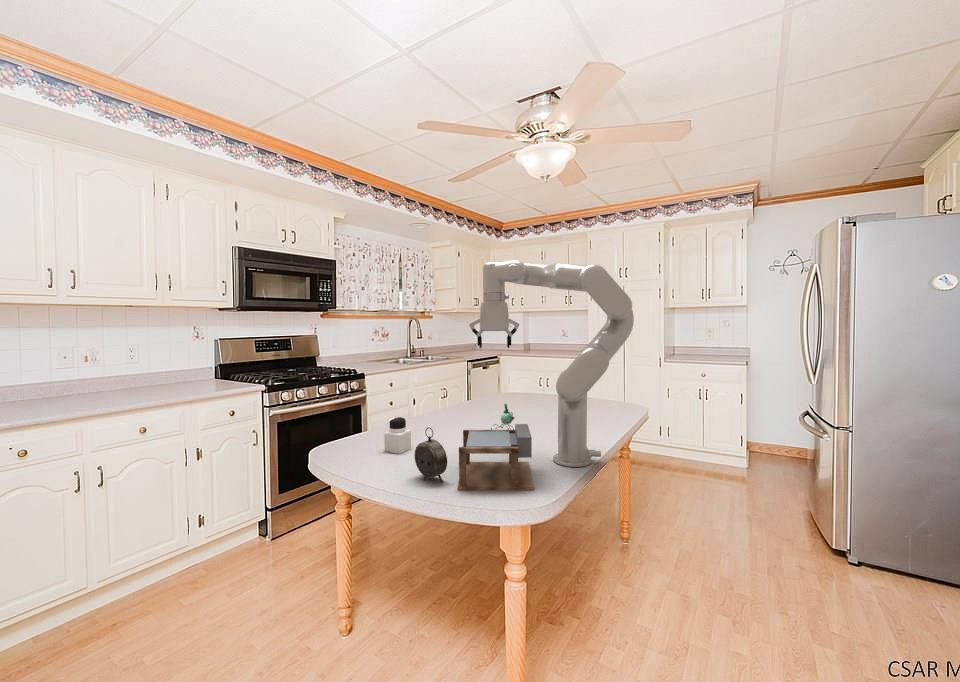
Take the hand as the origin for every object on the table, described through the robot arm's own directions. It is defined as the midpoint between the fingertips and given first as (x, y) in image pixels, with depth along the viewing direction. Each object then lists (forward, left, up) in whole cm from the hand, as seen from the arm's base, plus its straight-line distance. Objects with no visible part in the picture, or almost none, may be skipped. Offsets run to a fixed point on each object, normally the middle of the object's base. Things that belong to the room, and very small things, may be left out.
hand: (494, 347), depth 155 cm
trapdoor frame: (0, +20, -38) cm, 43 cm away
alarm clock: (+20, +23, -38) cm, 49 cm away
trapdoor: (-1, +20, -30) cm, 36 cm away
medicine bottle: (+36, -6, -38) cm, 53 cm away
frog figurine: (-4, -23, -39) cm, 45 cm away
